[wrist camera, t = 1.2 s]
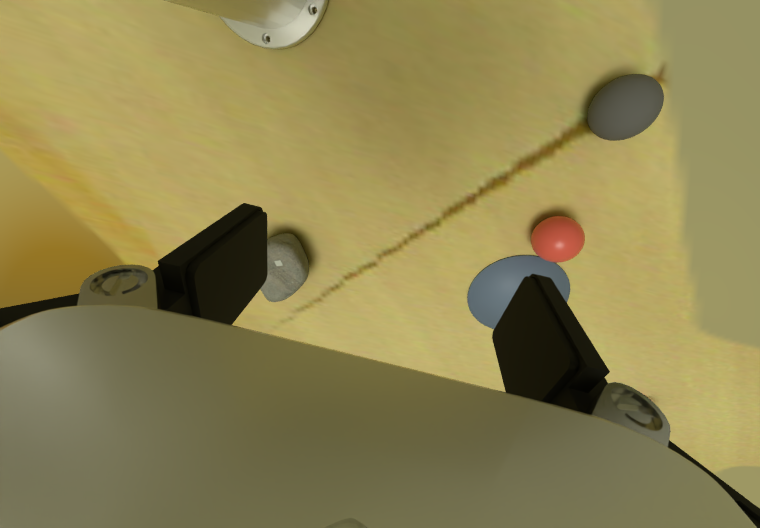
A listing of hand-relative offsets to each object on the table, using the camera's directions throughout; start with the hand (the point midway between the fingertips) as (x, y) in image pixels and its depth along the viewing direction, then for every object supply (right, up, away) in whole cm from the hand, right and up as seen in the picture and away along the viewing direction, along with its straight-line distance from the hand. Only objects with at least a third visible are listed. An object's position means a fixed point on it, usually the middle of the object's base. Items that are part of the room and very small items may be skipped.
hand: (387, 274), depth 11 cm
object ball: (+21, +3, +25) cm, 33 cm away
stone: (-15, +2, +35) cm, 38 cm away
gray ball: (+22, +15, +17) cm, 32 cm away
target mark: (+20, -4, +33) cm, 39 cm away
